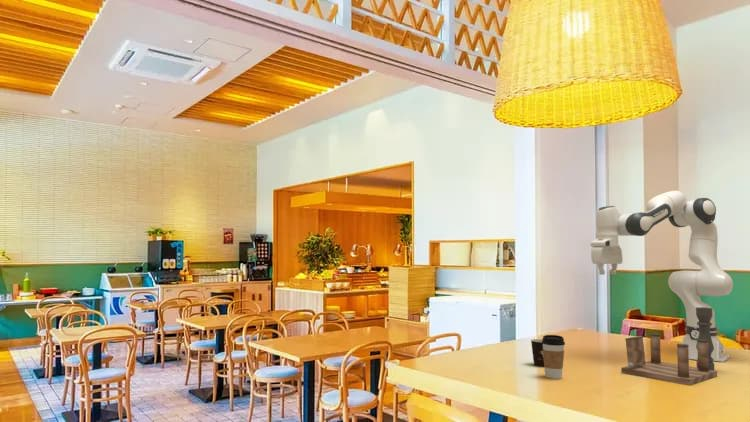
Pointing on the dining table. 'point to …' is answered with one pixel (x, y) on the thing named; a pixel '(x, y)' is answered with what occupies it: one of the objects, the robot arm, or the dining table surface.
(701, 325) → the candle holder
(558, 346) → the coffee cup
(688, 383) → the stool
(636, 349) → the hinged leg
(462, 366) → the dining table surface
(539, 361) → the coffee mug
